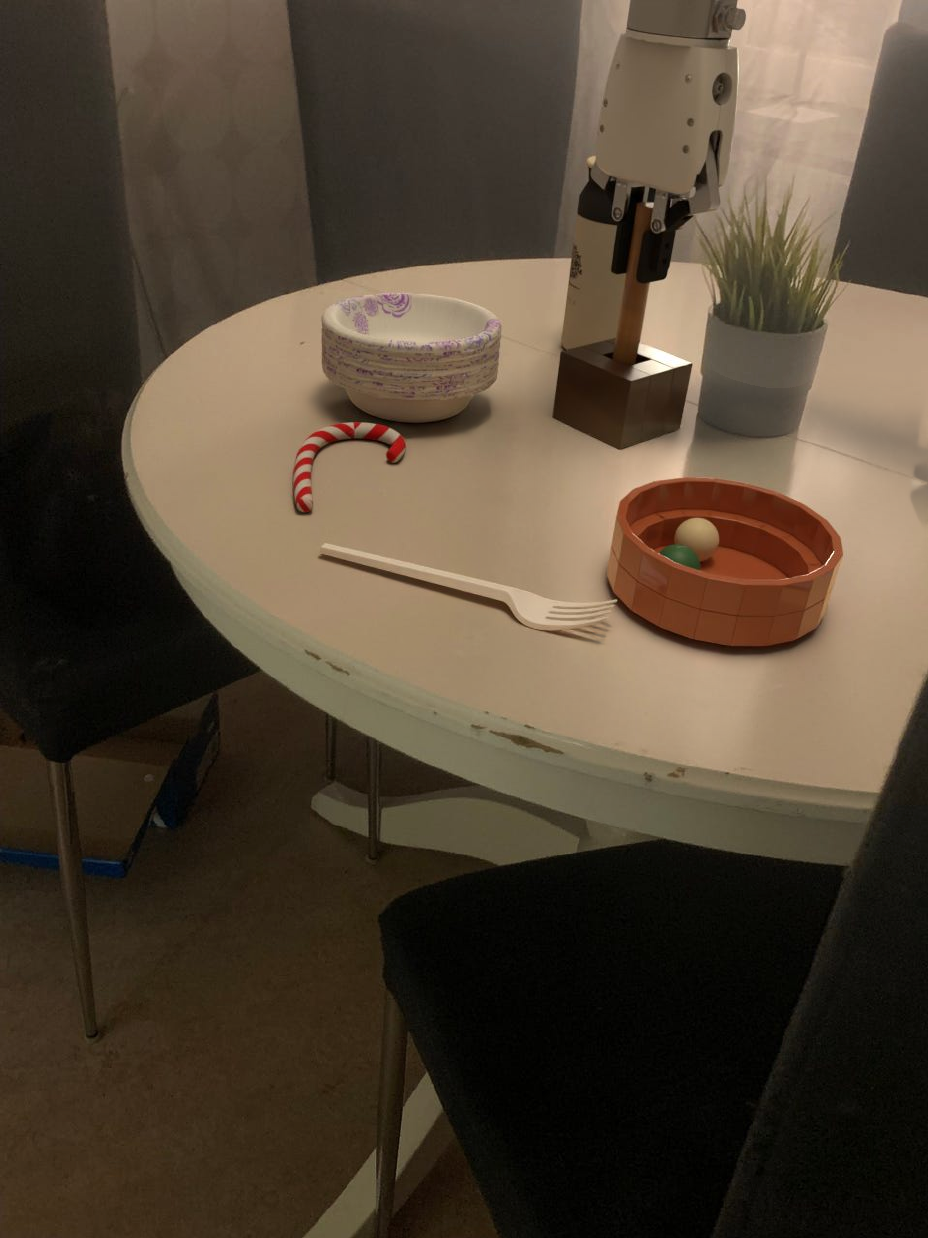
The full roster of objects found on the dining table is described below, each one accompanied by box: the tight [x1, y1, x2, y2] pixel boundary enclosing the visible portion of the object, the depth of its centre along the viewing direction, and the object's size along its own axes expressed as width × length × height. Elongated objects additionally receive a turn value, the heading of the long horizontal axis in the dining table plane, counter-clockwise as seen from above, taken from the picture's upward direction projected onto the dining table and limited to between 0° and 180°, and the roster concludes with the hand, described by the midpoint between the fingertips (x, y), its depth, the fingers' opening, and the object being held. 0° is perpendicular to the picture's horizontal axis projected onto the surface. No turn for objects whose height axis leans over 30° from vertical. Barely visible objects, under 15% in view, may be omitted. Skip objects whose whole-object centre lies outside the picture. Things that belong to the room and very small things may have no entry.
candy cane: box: [292, 421, 407, 513], centre depth 82 cm, size 8×1×15 cm
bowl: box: [606, 476, 844, 647], centre depth 70 cm, size 14×14×5 cm
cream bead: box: [674, 518, 719, 562], centre depth 73 cm, size 3×3×3 cm
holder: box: [552, 338, 694, 450], centre depth 93 cm, size 8×8×6 cm
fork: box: [318, 542, 618, 631], centre depth 69 cm, size 3×20×2 cm, turn 68°
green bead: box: [659, 544, 700, 571], centre depth 70 cm, size 3×3×3 cm
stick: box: [612, 202, 654, 366], centre depth 89 cm, size 2×2×16 cm
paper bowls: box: [320, 292, 502, 424], centre depth 93 cm, size 15×15×8 cm
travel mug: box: [560, 155, 656, 350], centre depth 106 cm, size 8×8×18 cm
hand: (638, 274), depth 88 cm, fingers closed on stick, 2 cm apart
